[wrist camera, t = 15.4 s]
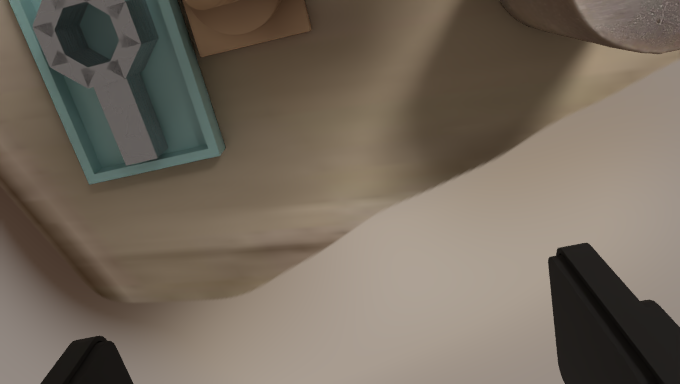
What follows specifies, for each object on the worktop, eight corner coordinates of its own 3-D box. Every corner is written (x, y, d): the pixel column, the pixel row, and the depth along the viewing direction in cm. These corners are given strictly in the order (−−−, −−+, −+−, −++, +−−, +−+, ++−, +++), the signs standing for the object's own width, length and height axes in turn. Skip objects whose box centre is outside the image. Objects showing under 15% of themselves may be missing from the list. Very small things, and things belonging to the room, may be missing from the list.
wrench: (47, -6, 37) (18, -4, 34) (134, -30, 36) (113, -30, 33) (116, 158, 41) (97, 174, 38) (195, 139, 41) (182, 154, 37)
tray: (-6, -72, 36) (-24, -74, 34) (141, -112, 35) (130, -117, 33) (99, 175, 42) (89, 184, 41) (225, 147, 41) (220, 155, 40)
